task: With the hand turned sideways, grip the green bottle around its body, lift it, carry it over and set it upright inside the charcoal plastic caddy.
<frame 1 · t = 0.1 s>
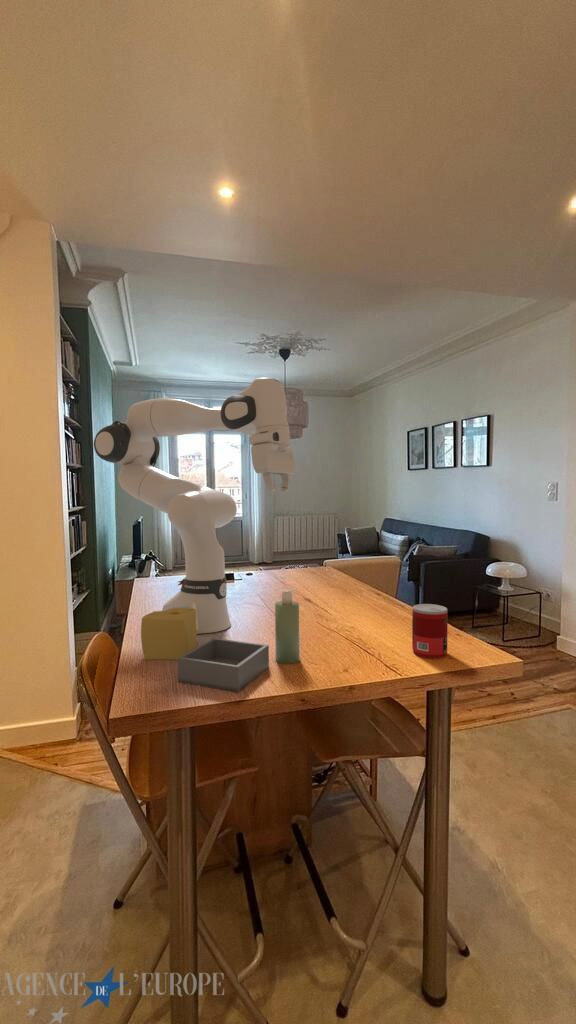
hand: (278, 491, 126), 39 cm above the table, tool pointing down, fingers open, 8 cm apart
green bottle: (287, 659, 109), on the table
canned food: (429, 654, 113), on the table
caddy: (225, 674, 101), on the table
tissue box: (171, 654, 115), on the table
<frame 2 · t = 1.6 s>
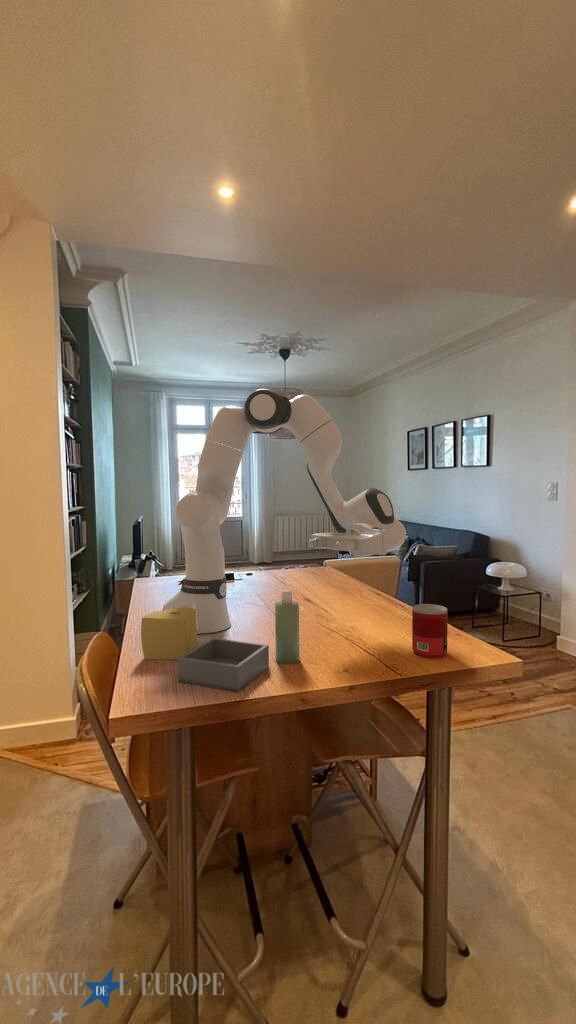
hand: (323, 545, 116), 26 cm above the table, tool horizontal, fingers open, 8 cm apart
nothing on the table moved.
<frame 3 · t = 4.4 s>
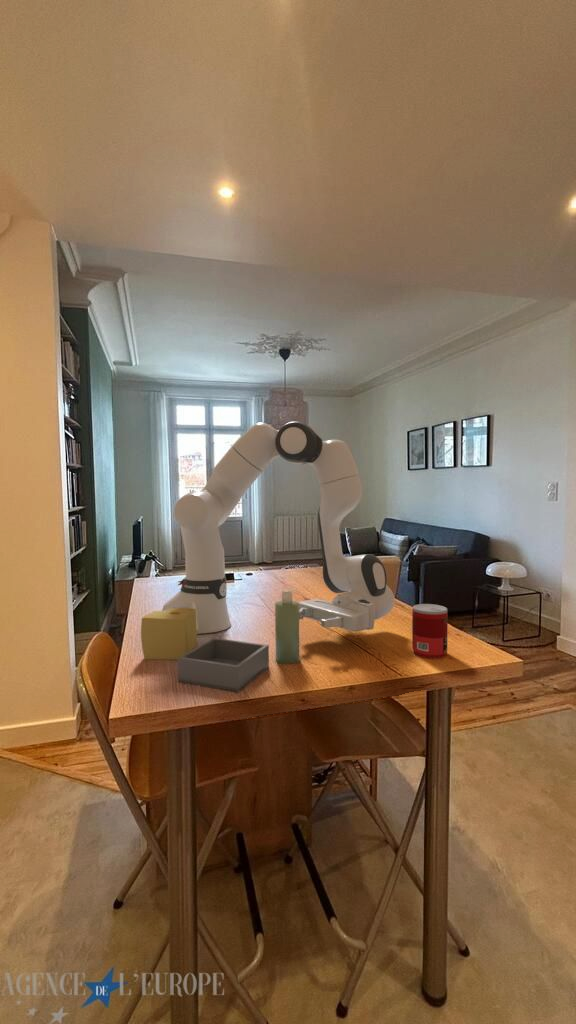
hand: (309, 619, 114), 8 cm above the table, tool horizontal, fingers open, 8 cm apart
nothing on the table moved.
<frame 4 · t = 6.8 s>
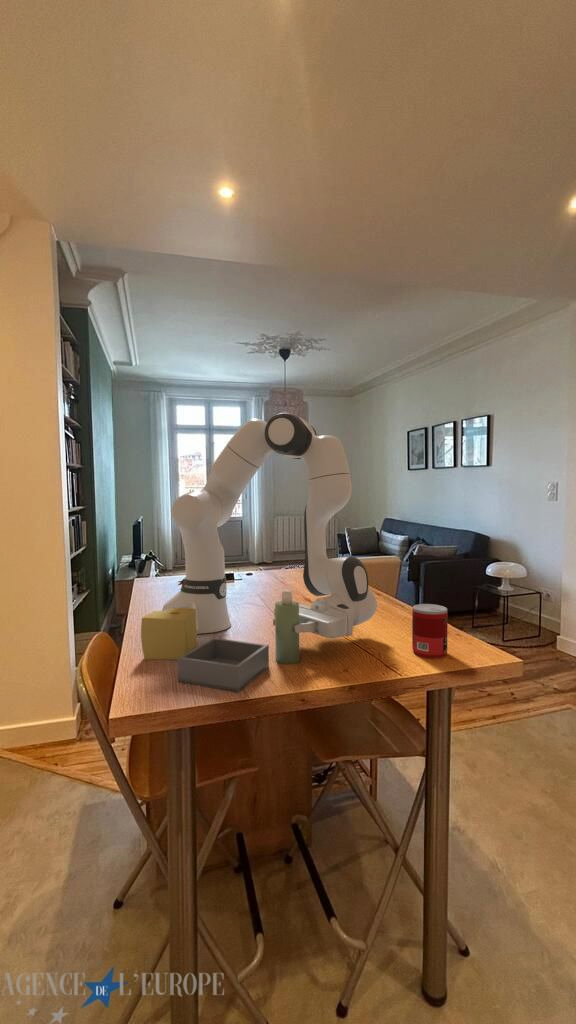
hand: (284, 625, 109), 8 cm above the table, tool horizontal, fingers closed on green bottle, 5 cm apart
green bottle: (287, 659, 109), on the table, touching gripper
everything else where it was.
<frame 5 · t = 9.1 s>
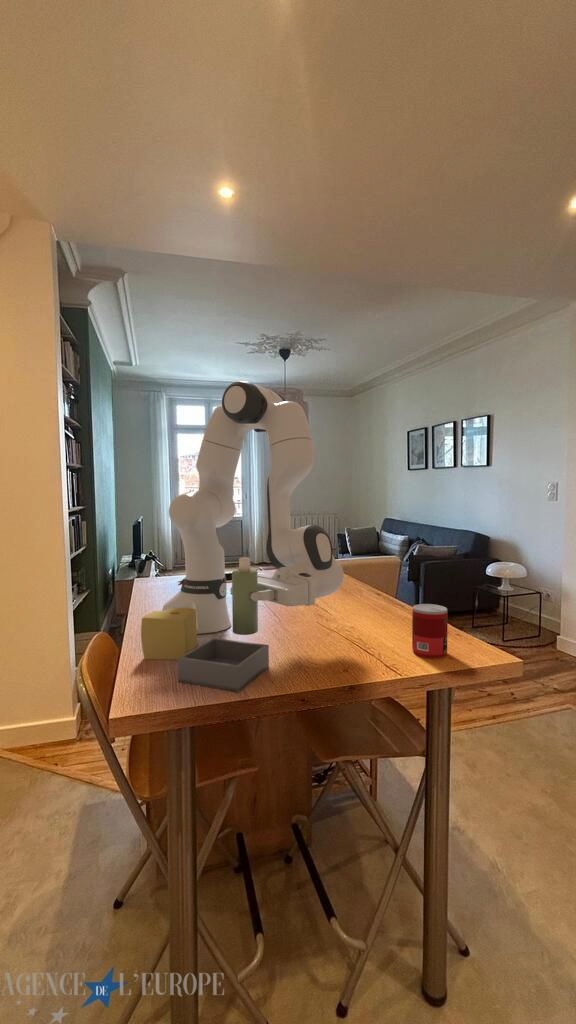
hand: (241, 594, 102), 17 cm above the table, tool horizontal, fingers closed on green bottle, 5 cm apart
green bottle: (245, 631, 103), point 8 cm above the table, touching gripper
everything else where it was.
when the fingers open (10 cm above the table, at t = 11.6 s): green bottle drops 1 cm, resting on caddy.
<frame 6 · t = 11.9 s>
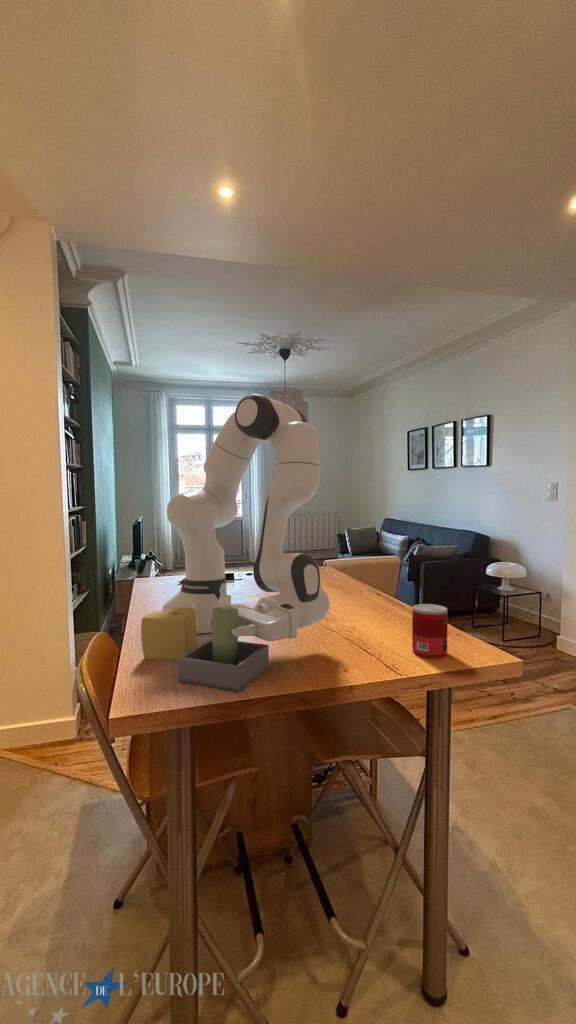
hand: (220, 627, 100), 10 cm above the table, tool horizontal, fingers open, 8 cm apart
green bottle: (225, 670, 101), point 1 cm above the table, touching caddy
everything else where it was.
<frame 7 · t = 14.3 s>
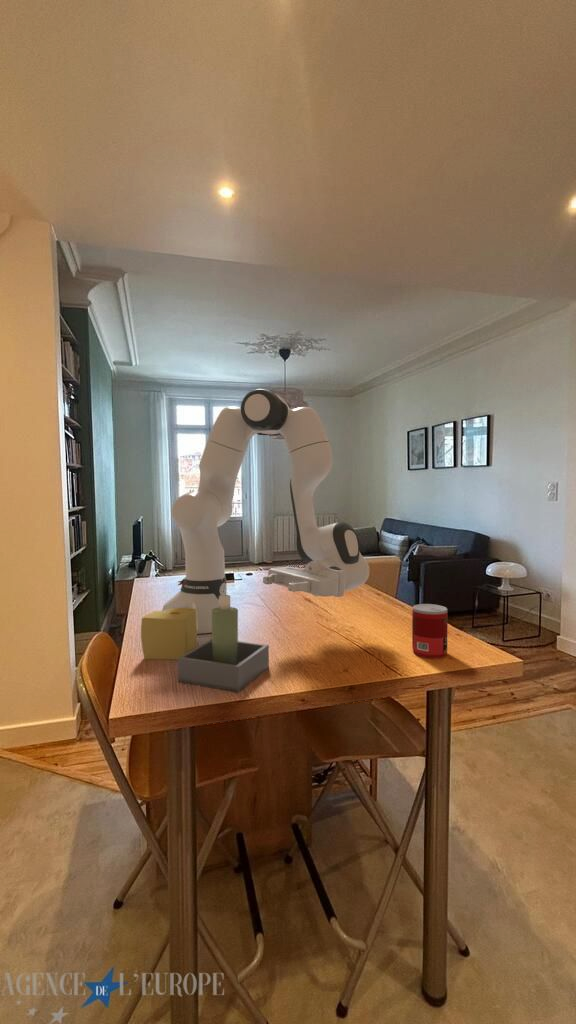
hand: (277, 584, 111), 17 cm above the table, tool horizontal, fingers open, 8 cm apart
nothing on the table moved.
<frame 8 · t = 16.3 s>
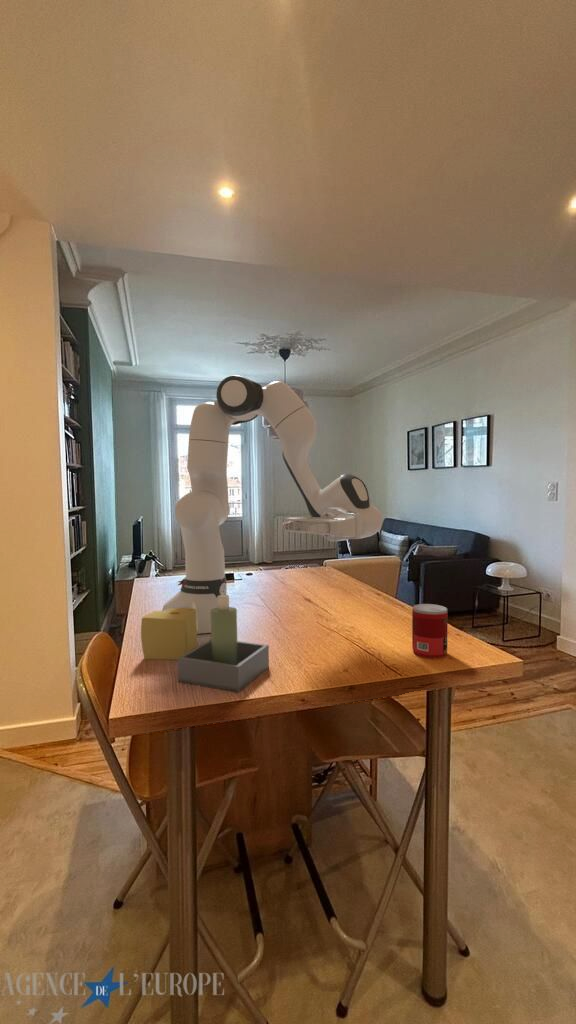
hand: (296, 527, 115), 30 cm above the table, tool horizontal, fingers open, 8 cm apart
nothing on the table moved.
at the end: green bottle inside the target area on the caddy (0.0 cm from its centre), point 0.8 cm above the caddy's base; green bottle tilted 1°; the gripper is holding nothing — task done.
